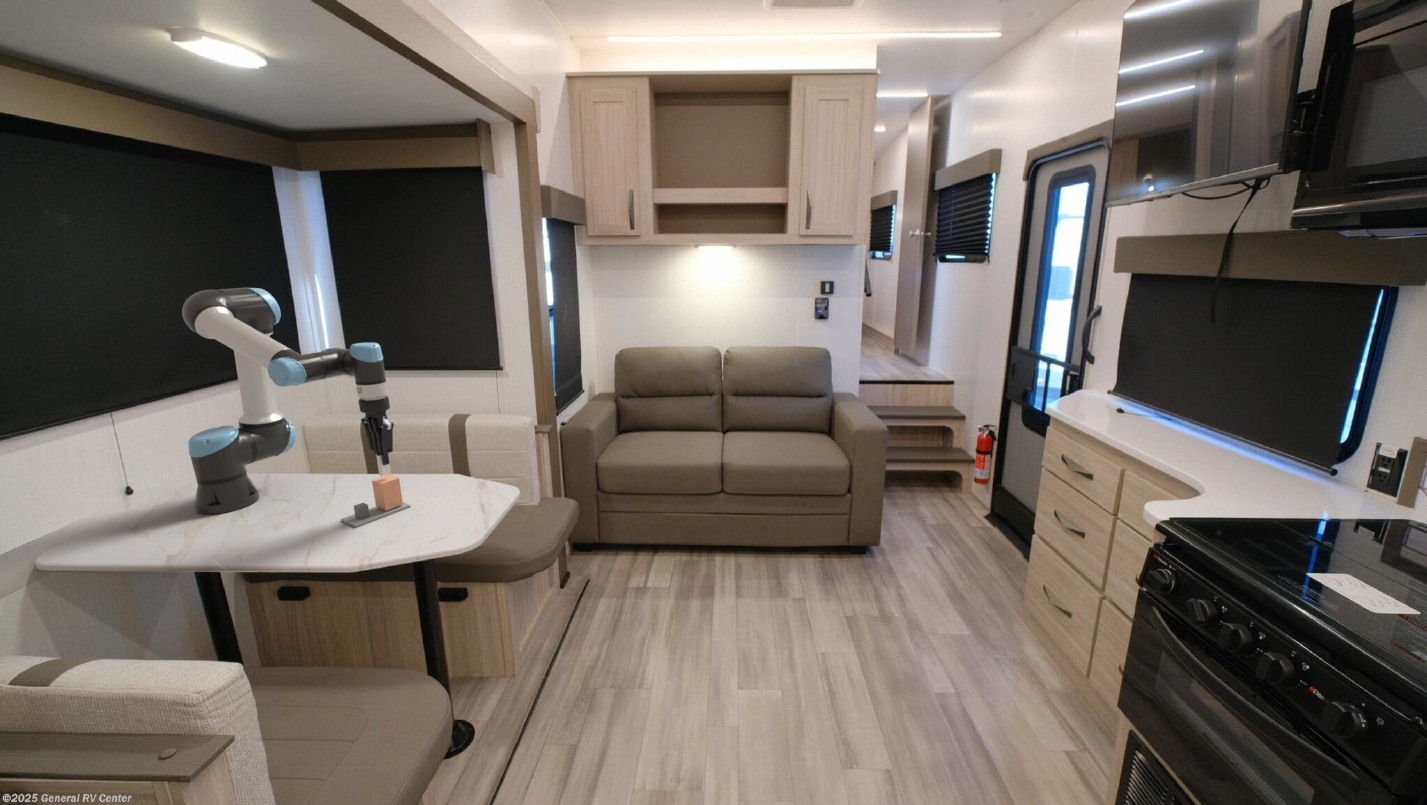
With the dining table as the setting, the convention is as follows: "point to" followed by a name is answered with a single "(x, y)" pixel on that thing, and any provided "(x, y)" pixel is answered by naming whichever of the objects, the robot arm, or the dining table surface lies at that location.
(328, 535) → the dining table surface
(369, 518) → the stand
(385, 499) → the orange block
